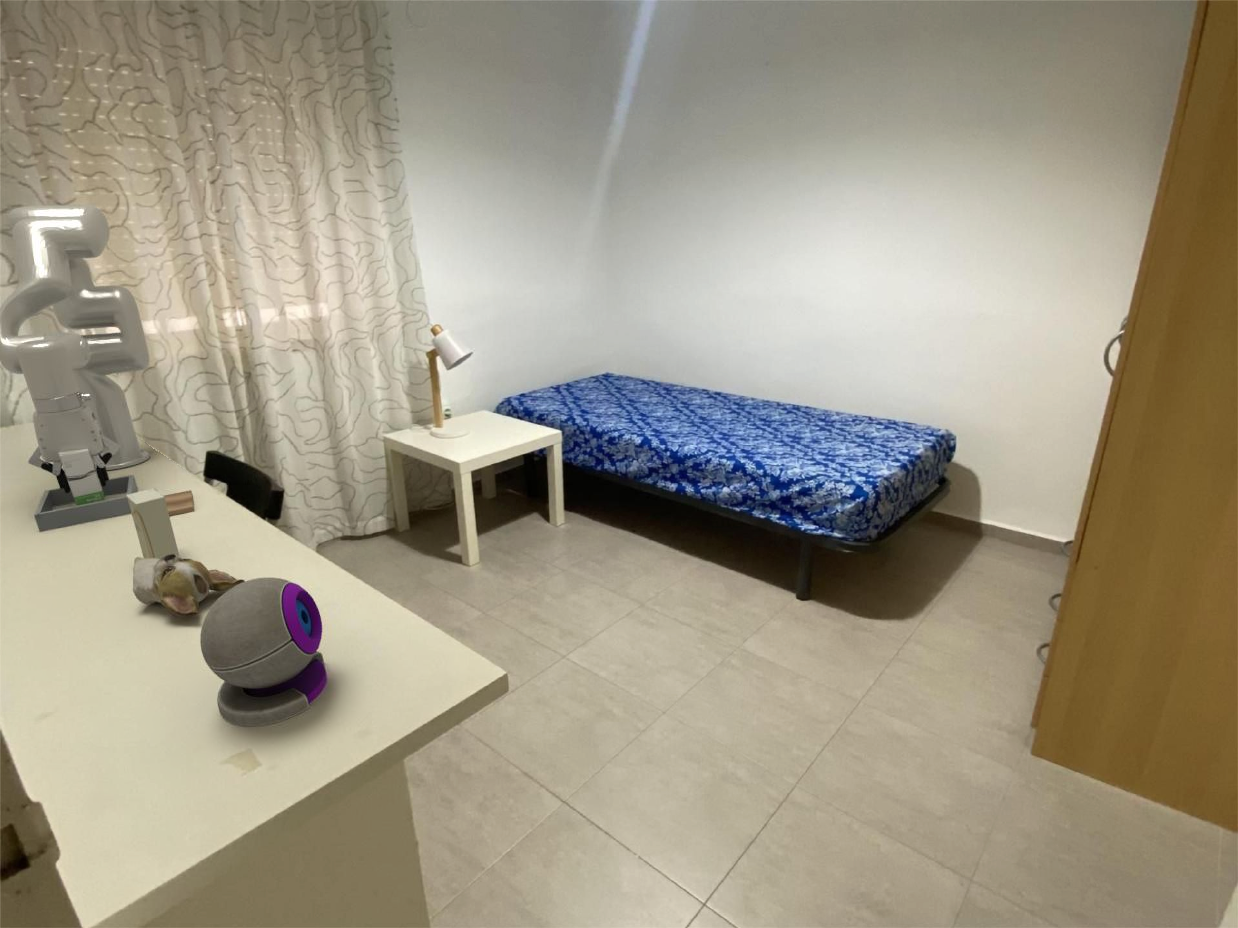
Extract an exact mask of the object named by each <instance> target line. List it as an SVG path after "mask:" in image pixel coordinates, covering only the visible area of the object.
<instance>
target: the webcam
mask: <svg viewBox="0 0 1238 928" xmlns="http://www.w3.org/2000/svg"><path fill="white" fill-rule="evenodd" d="M200 629H201V630H200V650H201V654H202V657H203V659H204V662H205V663H206V665H207V666H208V667H209V669H210V671H212V673H213V674H215V675H216V676H217V677H218V678H219V679H221V680H222V681H223V683H222V684H221V686H220V687H219V690H218V692H217V698H216V703H217V707H218V710H219V714H220V716H221V717H222V719H224V720H225V721H226V722H229V723H230V724H232V725H233V724H234V725H236V726H237V725H238V726H243V727H256V726H257V727H258V726H267V725H270V724H275V723H279V722H282V721H285V720H287V719H290V718H292V717H295V716H297V715H299V714H301V713H303V712H305V711H306V710H308V709H310V705H309V703H311V702H313V701H314V700H315V699H316V698H317V697H318V696H319V695H320V694H321V692H322V691H323V690H324V689H325V686H326V685H327V680H328V675H327V670H326V666H325V665H324V662H325V661H324V657H323V653H322V652H321V651H318V650H319V648H320V644H321V641H322V636H323V622H322V617H321V614H320V610H319V607H318V605H317V603H316V601H315V600H314V598H313V597H312V595H311V594H309V592H308V591H307V590H306V589H305V588H304V587H302V586H301V585H300V584H298V583H295V582H292V581H289V580H287V579H284V578H283V579H282V578H279V577H257V578H252V579H249V580H245V582H243V583H241V584H238V585H236V586H235V587H233V588H231V589H229V590H227V591H224V593H223V594H222V595H221V596H220V597H218V598H217V599H216V600H215V602H214V603H213V604H212V605H211V607H210V608H209V609H208V611H207V614H206V615H205V617H204V620H203V623H202V625H201V628H200Z"/></svg>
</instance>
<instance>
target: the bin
mask: <svg viewBox="0 0 1238 928" xmlns="http://www.w3.org/2000/svg"><path fill="white" fill-rule="evenodd" d="M102 489H103V493H104V497H105V498H106V497H109V496H116V495H121V494H125V493H126V495H127V494H132V493H136V492H139V488H138V485H137V481H136V478H135V475H134V474H130V475H124V476H119V477H118V476H117V477H112V478H109V480H107V481H106V486H102ZM73 503H76V502H75V500H74V497H73V494H72V492H71V490H70V492H69V493H65V490H64V488H63V489H60V487H57V488H53V489H46V490H44V492H43V494H42V496H41V499H40V501H39V503H38V506H37V508H36V510H35V512H34V514H33V517H34V518H35V519H34V520H35V522H36V525H37V527H38V528H37V529H38V530H39V532H45V531H49V530H50V531H51V530H55V529H60V528H64V527H65V528H66V527H70V526H74V525H79V524H84V523H91V522H94V521H99V520H104V519H111V518H114V517H115V518H116V517H119V516H124V515H128V514H129V515H130V514H132V513H131V509H130V506H129V502H128V499H127V496H121V497H116V498H110V499H107V500H106V499H105V501H99V502H94V503H89V504H84V505H78V506H77V505H75V506H69V507H63V508H58V509H54V508H55V507H56V506H61V505H68V504H73Z"/></svg>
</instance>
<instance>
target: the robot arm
mask: <svg viewBox="0 0 1238 928" xmlns="http://www.w3.org/2000/svg"><path fill="white" fill-rule="evenodd" d="M8 222H9V224H10V227H11V229H12V239H13V241H12V242H13V248H14V254H15V255H14V256H15V263H16V271H17V272H16V273H17V280H18V286H17V288H16V289H15V290H14V291H13V292H12V293H11V294H9V295H8V296H7V298H6V299H5V300H4V301H3V303H2V304H1V306H0V364H1V366H3V367H4V369H5V370H7V371H8V372H9V373H12V374H16V375H23V378H24V380H25V383H26V386H27V389H28V392H29V395H30V398H31V401H32V403H33V407H34V409H35V411H34V412H33V413H32V420H33V427H34V433H35V436H36V441H37V445H38V446H37V447H36V449H35V450H34V452H33V453H32V454H31V456H30V457H29V459H28V464H30V465H32V466H35V467H37V468H40V469H42V470H44V471H45V472H48V473H51V474H52V475H53V476H54V477H55V478H56V481H57V483H58V488H60V489H63V488H64V490H65V493H69V492H70V490H71V489H70V486H69V483H68V480H67V477H66V475H65V472H64V469H63V466H62V463H61V460H60V456H59V454H58V452H63V451H71V450H80V449H88V450H89V452H90V455H91V457H92V459H93V461H94V464H95V467H96V471H97V474H98V477H99V480H100V483H101V486H106V481H107V480H109V479H110V477H109V473H108V471H113V470H119V469H124V468H128V467H133V466H135V465H139V464H141V463H144V462H145V461H147V460H148V459H149V458H150V452H149V451H147V450H144V449H143V450H142V449H141V448H140V445H139V441H138V437H137V434H136V431H135V427H134V424H133V423H134V422H133V419H132V415H131V413H130V410H129V409H130V408H129V406H128V402H127V399H126V395H125V392H124V390H123V388H122V387H121V386H120V385H119V384H118V383H117V382H115V380H113V379H111V378H110V377H108V376H109V375H113V374H123V373H131V372H132V373H133V372H140V371H143V370H146V369H147V368H148V367H149V365H150V354H149V349H148V345H147V344H148V343H147V340H146V336H145V332H144V328H143V323H142V319H141V315H140V312H139V309H138V304H137V302H136V299H135V297H134V296H133V294H132V292H131V291H130V290H129V288H127V287H124V286H122V285H100V286H99V285H98V286H95V284H94V282H93V278H92V274H91V270H90V269H91V268H90V267H89V264H88V263H87V262H86V261H85V260H84V259H95V258H98V257H100V256H101V255H103V252H104V251H105V248H106V246H107V244H108V241H109V238H110V227H109V223H108V220H107V217H106V215H105V214H104V213H103V212H102V210H101V209H99V208H98V207H97V206H95V205H86V204H82V205H81V204H79V205H76V204H75V205H74V204H73V205H72V204H71V205H69V204H68V205H29V206H21V207H17V208H15V209H12V210H11V211H10V212H9V214H8ZM50 307H52V308H53V311H54V314H55V318H56V320H57V322H58V323H59V324H60V325H61V327H63V328H66V329H69V330H90V329H92V330H93V329H103V328H104V329H105V328H106V329H107V328H117V329H118V330H119V331H120V332H110V333H109V332H108V333H107V332H106V333H94V334H93V333H92V334H83V335H82V334H78V333H74V332H65V331H64V332H52V333H36V334H23V335H19V332H20V328H21V327H22V325H23V324H24V323H25V322H26V321H27V320H28V319H29V318H30V317H31V316H33V315H36V314H37V313H40V312H41V311H43V310H45V309H47V308H50ZM41 458H42V459H41Z"/></svg>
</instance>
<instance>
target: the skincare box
mask: <svg viewBox="0 0 1238 928" xmlns="http://www.w3.org/2000/svg"><path fill="white" fill-rule="evenodd" d="M125 495H126V496H127V499H128V502H129V506H130V509H131V513H130V514H131V516H132V519H133V523H134V528H135V531H136V534H137V538H138V542H139V546H140V548H141V553H142V558H157V559H161V558H163V557H165V556H167V555H171V554H175V555H177V556H179V557H180V558H181V556H180V553H179V549H178V545H177V541H176V538H175V532H174V530H173V526H172V520H171V518H170V517H171V516H169V513H168V509H167V505H166V501H165V497H164V495H163V494H162V492H160V491H159V490H157V489H156V488H154V487H152V488H148V489H145V490H140V491H138V492H136V493H132V494H127V493H126V494H125Z"/></svg>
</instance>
